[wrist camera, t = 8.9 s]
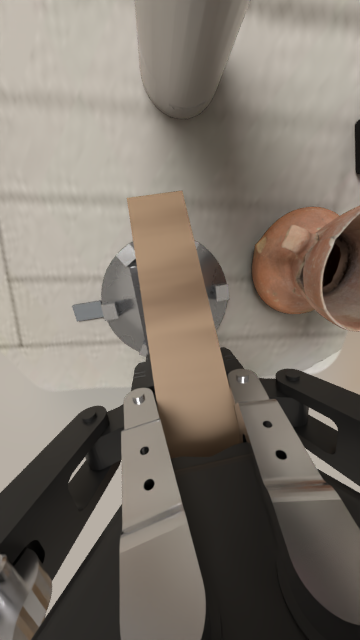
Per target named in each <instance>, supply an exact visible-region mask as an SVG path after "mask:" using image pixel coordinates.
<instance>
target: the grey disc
mask: <svg viewBox="0 0 360 640" xmlns="http://www.w3.org/2000/svg"><path fill="white" fill-rule="evenodd" d="M194 242H195V246H196V250H197V254H198V259H199V263H200V267H201V271H202V275H203V279H204V284H205V288H206V292H207V296H208V300H209V304H210V309H211V313H212V317H213V321H214V325H215V329H217V328H218V326H219V325H220V323H221V321H222V318H223V316H224V313H225V309H226V305H227V300H229V289H228V284H226V280H225V276H224V273H223V271H222V269H221V267H220V265H219V263H218V261H217V260H216V259H215V257H214V256H213V255H212V254H211V253H210V252H209V251H208V250H207V249H206V248H205V247H204V246H203V245H201V244H200V243H199V242H197V241H195V240H194ZM101 297H102V305H101V308H102V312H103V315H104V319H105V321H108V323H109V325H110V327H111V329H112V330H113V331H114V333H115V334H116V335H117V336H118V337H119V338H120V339H121V340H122V341H123V342H124V343H125V344H127V345H128V346H130V347H131V348H133V349H135V350H137V351H139V355H142V356H145V357H146V354H148V353H149V346H148V339H147V332H146V325H145V318H144V312H143V305H142V298H141V291H140V284H139V277H138V270H137V264H136V257H135V250H134V243H133V242H131V243H129V244H128V245H127V246H125V247H124V248H123V249H122V250H121V251H120V252H119V253H118V254H117V255H116V256H115V257H114V259H113V260H112V261H111V263H110V265H109V267H108V268H107V271H106V273H105V276H104V279H103V284H102V292H101Z"/></svg>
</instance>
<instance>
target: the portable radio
mask: <svg viewBox="0 0 360 640" xmlns="http://www.w3.org/2000/svg"><path fill="white" fill-rule="evenodd" d="M356 172H357V173H358V174H360V120H358V121H357V123H356Z"/></svg>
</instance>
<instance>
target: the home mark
mask: <svg viewBox="0 0 360 640" xmlns="http://www.w3.org/2000/svg"><path fill="white" fill-rule="evenodd" d="M101 305H102V302H101V300H100V301H94V302H88V303H82V304H76V305H73V306H72V307H73V310H74V313H75V316H76V320H77V321H83V320H89V319H94V318H100V317H104V315H103V312H102V308H101Z"/></svg>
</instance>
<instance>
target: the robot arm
mask: <svg viewBox="0 0 360 640" xmlns="http://www.w3.org/2000/svg"><path fill="white" fill-rule="evenodd" d="M249 3H250V0H135V11H136V24H137V39H138V51H139V64H140V72H141V78H142V81H143V85H144V88H145V90H146V92H147V94H148V96H149V98H150V99H151V101H152V102H153V103H154V105H155V106H156V107H157V108H158V109H159V110H161V111H162V112H163V113H165V114H166V115H168V116H170V117H173V118H177V119H187V118H191V117H194V116H196V115H198V114H200V113H201V112H202V111H203V110H204V109H205V108H207V106H208V105H209V103H210V102H211V100H212V99H213V96H214V94H215V92H216V89H217V87H218V84H219V82H220V79H221V76H222V74H223V71H224V69H225V66H226V64H227V61H228V58H229V56H230V53H231V50H232V48H233V45H234V42H235V40H236V37H237V34H238V32H239V29H240V27H241V24H242V21H243V19H244V16H245V13H246V11H247V8H248V5H249ZM220 350H221V354H222V358H223V363H224V367H225V371H226V375H227V379H228V383H229V388H230V392H231V397H232V401H233V404H234V408H235V413H236V417H237V421H238V429H239V443H240V444H236V445H233V446H231V447H229V448H227V449H225V450H223V451H221V452H219V453H217V454H215V455H214V456H211V457H185V456H181V457H176V458H172V459H170V455H169V451H168V447H167V443H166V439H165V436H164V432H163V428H162V424H161V420H160V418H159V414H158V408H157V401H156V394H155V387H154V380H153V373H152V367H151V360H150V353H148V354H146V362H142V363H139V364H138V365H137V366H136V367H135V371H134V377H133V383H132V388H131V392H130V393H128V394H127V395H126V396H125V398H124V404H123V405H121V406H120V407H118V408H116V409H113V410H111V411H108V412H107V411H106V409H105V408H104V407H102V406H93V407H90V408H87V409H85V410H84V411H82V412H81V413H79V414H78V415H77V416H76V417H75V418H74V419H73V420H72V421H71V422H70V423H69V424H68V425H67V426H66V427H65V428H64V429H63V430H62V431H61V432H60V433H59V434H58V435H57V436H56V437H55V438H54V439H53V440H52V441H51V442H50V443H49V445H47V446H46V447H45V448H44V450H42V451H41V453H39V455H38V456H37V457H36V458H35V459H34V460H33V461H32V462H31V463H30V464H29V465H28V466H27V467H26V468H25V469H24V470H23V471H22V472H21V473H20V474H19V475H18V476H17V477H16V478H15V479H14V480H13V481H12V482H11V483H10V484H9V485H8V486H7V487H6V488H5V489H4V490H3V491H2V492H1V493H0V640H360V493H359V492H357V491H355V490H353V489H351V488H350V487H348V486H346V485H345V484H342V483H341V482H339V481H338V480H336V479H334V478H332V477H331V476H329V475H327V474H325V473H324V472H322V471H320V470H319V469H317V468H316V467H315V465H314V463H313V461H312V460H311V458H310V456H309V454H308V453H307V451H306V449H308V450H309V451H310V452H312V453H313V454H314V455H316V456H317V457H319V458H320V459H322V460H323V461H325V462H326V463H327V464H329V465H330V466H332V467H333V468H334V469H336V470H337V471H339V472H340V473H342V474H343V475H345V476H346V477H347V478H349V479H350V480H352V481H353V482H354V483H356V484H357V485H359V486H360V395H358V394H356V393H354V392H351V391H348V390H346V389H344V388H341V387H339V386H336V385H334V384H331V383H329V382H326V381H324V380H322V379H319V378H317V377H314V376H312V375H309V374H307V373H304V372H302V371H299V370H295V369H283V370H280V371H278V372H277V373H276V379H264V378H258V376H257V375H256V373H254V372H253V371H251V370H248V369H244V368H243V366H242V365H241V364H240V362H239V361H238V360H237V359H236V357H235V356H234V355H233V354H232V352H231V351H230V350H228V349H226V348H224V347H223V348H220ZM309 408H312V409H313V410H315V411H317V412H319V413H321V414H323V415H324V416H326V417H328V418H330V419H331V420H332V421H333V422H335V424H336V425H337V427H338V431H337V430H335V429H333V428H331V427H329V426H328V425H326V424H324V423H322V422H321V421H319V420H317V419H315V418H313V417H311V416H310V415H308V410H309ZM305 448H306V449H305ZM84 457H86V461H85V462H84V464H83V465H82V466H81V468H80V469H79V471H78V472H77V473H76V474H75V476H74V477H73V478H72V480H71V481H70V482H69V479H70V477H71V475H72V473H73V472H74V470H75V469H76V468H77V466H78V465H79V464H80V462H81V461H82V460H83V458H84ZM121 460H122V505H121V506H120V508H119V509H118V511H117V512H116V513H115V515H114V517H113V518H112V519H111V521H110V522H109V524H108V525H107V527H106V528H105V530H104V531H103V533H102V534H101V536H100V537H99V539H98V540H97V542H96V543H95V545H94V546H93V548H92V549H91V551H90V552H89V554H88V555H87V557H86V559H85V560H84V561H83V563H82V564H81V566H80V567H79V569H78V570H77V572H76V573H75V575H74V576H73V578H72V579H71V581H70V582H69V584H68V585H67V587H66V588H65V590H64V591H63V593H62V594H61V596H60V597H59V598H58V600H57V601H56V603H55V605H54V606H53V607H52V609H51V610H50V612H49V613H48V615H47V616H46V618H45V615H46V614H45V613H46V611H47V609H48V606H49V602H50V599H51V594H52V580H53V579H54V577H55V575H56V574H57V572H58V570H59V568H60V567H61V565H62V563H63V561H64V560H65V558H66V556H67V554H68V553H69V551H70V549H71V548H72V546H73V544H74V543H75V541H76V539H77V537H78V536H79V534H80V532H81V531H82V529H83V527H84V525H85V524H86V522H87V520H88V518H89V517H90V515H91V513H92V511H93V510H94V508H95V506H96V505H97V503H98V501H99V500H100V498H101V496H102V495H103V493H104V491H105V489H106V487H107V486H108V484H109V482H110V481H111V479H112V477H113V476H114V474H115V472H116V470H117V469H118V467H119V465H120V462H121ZM68 482H69V484H68Z"/></svg>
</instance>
